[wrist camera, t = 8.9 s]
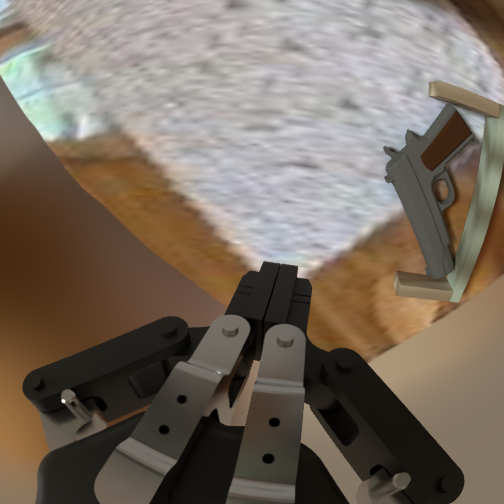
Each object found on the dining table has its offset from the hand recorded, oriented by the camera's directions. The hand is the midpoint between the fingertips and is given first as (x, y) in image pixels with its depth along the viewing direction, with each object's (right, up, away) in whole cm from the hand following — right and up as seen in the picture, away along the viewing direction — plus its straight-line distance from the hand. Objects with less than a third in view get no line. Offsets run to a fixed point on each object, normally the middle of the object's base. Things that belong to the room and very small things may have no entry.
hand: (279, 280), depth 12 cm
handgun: (+21, +8, +14) cm, 26 cm away
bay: (+22, +7, +13) cm, 26 cm away
